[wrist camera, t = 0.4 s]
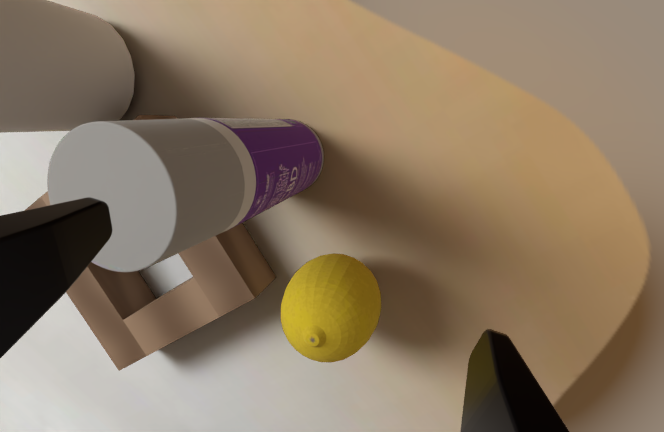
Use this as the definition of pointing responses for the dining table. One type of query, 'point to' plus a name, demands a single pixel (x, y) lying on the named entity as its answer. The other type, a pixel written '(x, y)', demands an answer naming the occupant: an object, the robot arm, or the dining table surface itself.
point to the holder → (168, 293)
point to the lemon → (330, 307)
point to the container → (180, 178)
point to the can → (60, 68)
